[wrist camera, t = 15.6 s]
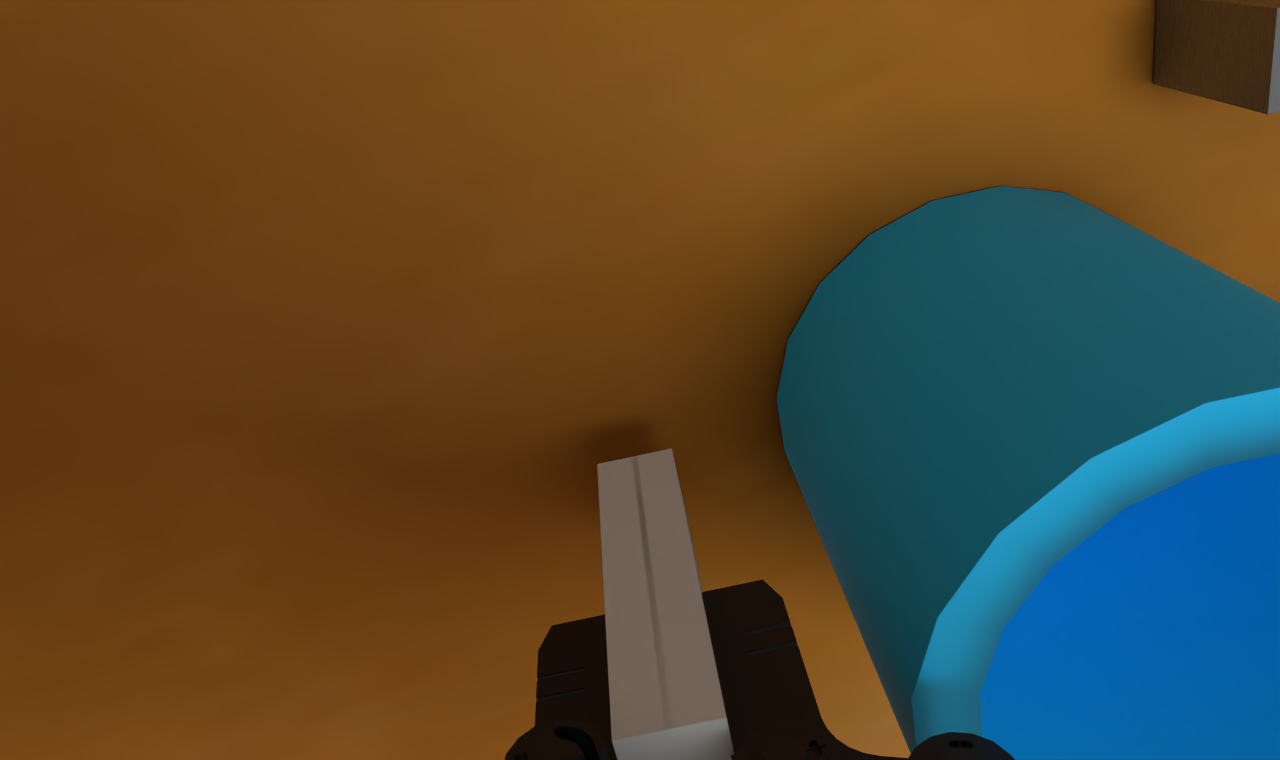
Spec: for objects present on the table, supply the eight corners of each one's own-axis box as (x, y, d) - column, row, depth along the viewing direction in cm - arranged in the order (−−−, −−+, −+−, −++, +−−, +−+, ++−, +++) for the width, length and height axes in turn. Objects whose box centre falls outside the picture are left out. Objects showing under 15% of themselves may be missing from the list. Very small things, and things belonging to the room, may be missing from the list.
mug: (772, 562, 20) (886, 913, 13) (781, 199, 17) (945, 405, 10) (1295, 521, 21) (1684, 836, 14) (1411, 160, 17) (2022, 328, 10)
